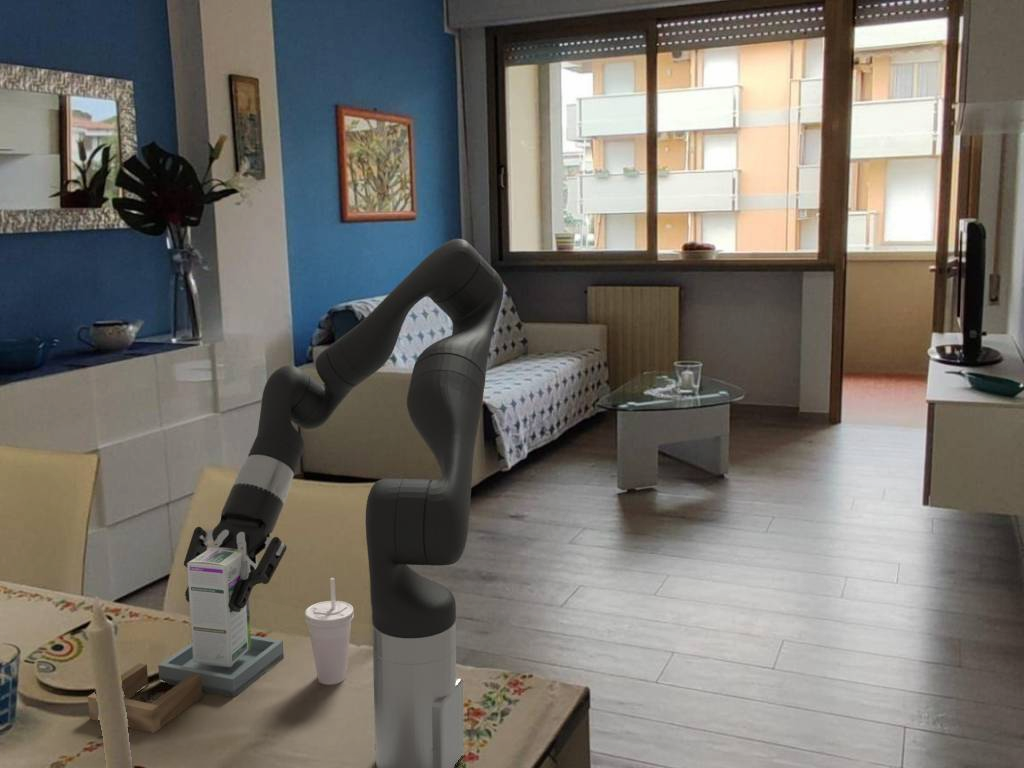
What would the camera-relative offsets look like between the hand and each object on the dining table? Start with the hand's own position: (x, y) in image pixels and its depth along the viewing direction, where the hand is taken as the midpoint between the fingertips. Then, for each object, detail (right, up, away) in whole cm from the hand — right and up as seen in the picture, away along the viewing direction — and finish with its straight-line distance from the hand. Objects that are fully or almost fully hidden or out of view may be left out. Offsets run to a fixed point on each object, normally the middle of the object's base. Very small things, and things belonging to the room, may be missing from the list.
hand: (212, 605), depth 128 cm
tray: (0, -10, +3) cm, 10 cm away
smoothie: (+16, -10, +1) cm, 19 cm away
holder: (-6, -11, -6) cm, 14 cm away
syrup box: (0, -8, +3) cm, 8 cm away
